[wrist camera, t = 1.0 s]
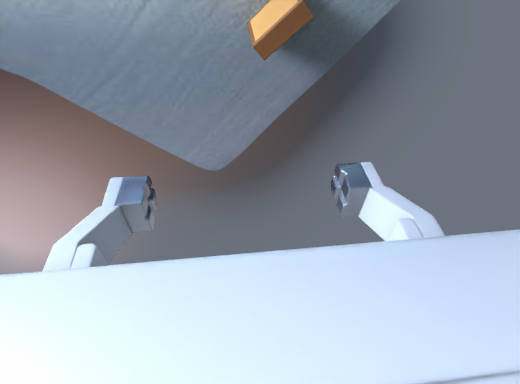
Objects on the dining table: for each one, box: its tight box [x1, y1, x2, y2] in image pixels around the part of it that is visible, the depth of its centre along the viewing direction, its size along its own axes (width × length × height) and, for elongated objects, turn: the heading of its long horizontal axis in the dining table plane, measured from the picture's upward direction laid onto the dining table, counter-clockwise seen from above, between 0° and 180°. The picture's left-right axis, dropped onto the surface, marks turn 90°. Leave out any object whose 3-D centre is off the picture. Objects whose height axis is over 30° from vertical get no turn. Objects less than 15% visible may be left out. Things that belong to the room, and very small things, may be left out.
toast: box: [247, 0, 314, 60], centre depth 42 cm, size 8×2×8 cm, turn 130°
